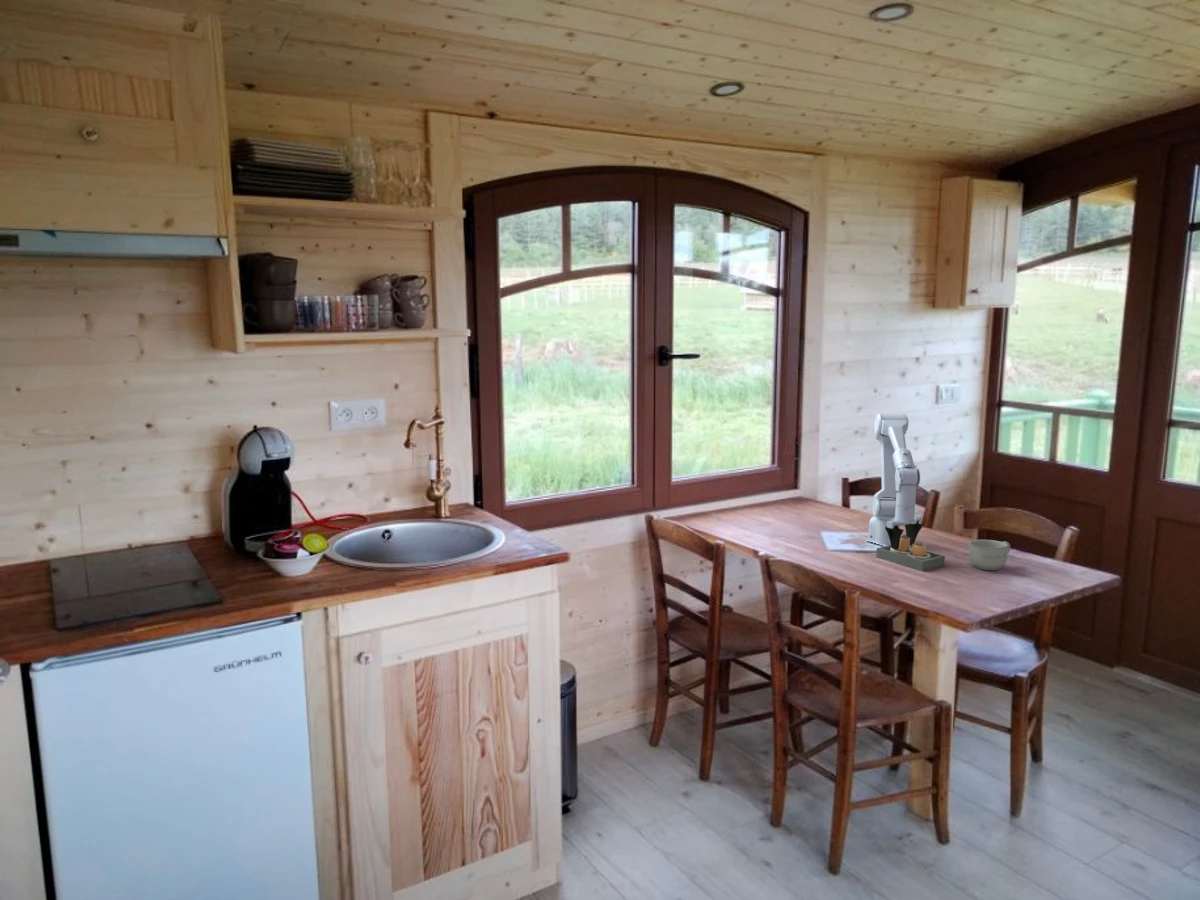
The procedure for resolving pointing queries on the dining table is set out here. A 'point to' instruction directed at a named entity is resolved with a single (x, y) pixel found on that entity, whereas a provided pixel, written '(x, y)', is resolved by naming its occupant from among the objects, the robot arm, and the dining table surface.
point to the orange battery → (904, 543)
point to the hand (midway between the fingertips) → (902, 547)
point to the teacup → (988, 554)
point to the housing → (912, 556)
